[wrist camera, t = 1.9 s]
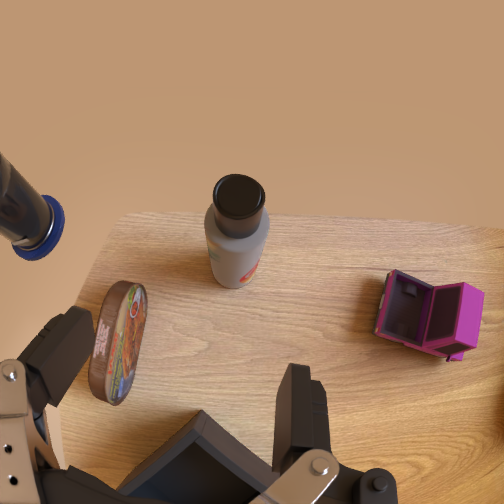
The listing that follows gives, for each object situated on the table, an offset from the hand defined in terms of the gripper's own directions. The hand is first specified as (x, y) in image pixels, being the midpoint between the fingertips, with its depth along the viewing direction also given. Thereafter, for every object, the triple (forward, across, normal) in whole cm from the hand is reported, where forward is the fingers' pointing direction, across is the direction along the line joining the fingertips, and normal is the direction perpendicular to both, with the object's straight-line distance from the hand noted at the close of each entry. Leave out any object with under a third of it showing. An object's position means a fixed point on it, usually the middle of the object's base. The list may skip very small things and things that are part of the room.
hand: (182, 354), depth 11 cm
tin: (+18, +11, +21) cm, 30 cm away
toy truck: (+26, -28, +13) cm, 40 cm away
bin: (+7, -2, +31) cm, 32 cm away
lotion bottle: (+27, 0, +11) cm, 30 cm away
